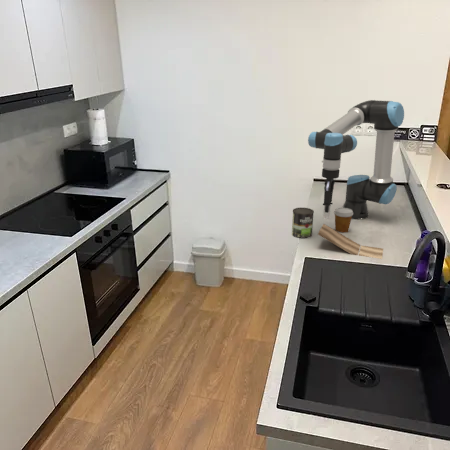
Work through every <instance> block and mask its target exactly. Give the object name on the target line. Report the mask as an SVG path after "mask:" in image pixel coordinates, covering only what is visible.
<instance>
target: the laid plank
mask: <svg viewBox="0 0 450 450" xmlns="http://www.w3.org/2000/svg"><path fill="white" fill-rule="evenodd" d="M383 254H384V248H381V247H375V246H367V245H361V244H360V249H359V252H358V256H359V257H366V258H371V259H381V260H382V259H383Z"/></svg>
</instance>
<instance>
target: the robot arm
mask: <svg viewBox="0 0 450 450" xmlns="http://www.w3.org/2000/svg"><path fill="white" fill-rule="evenodd" d="M404 119H405V109H404V106H403V105H402V103H401V102H399V101H392V100H375V99H374V100H373V99H369V100H366V101H363V102H360V103H359V104H358V103H357V104H356V105H354V106H353V107H351V108H349V109H348V111H347V113H346V114H344V115H342V116H341V117H339V118H338V119H337V120H335V121H334V122H332V123H331V124H330V125H328V126H327V127H325V128H324V129H323V130H320V131H312V132H310V133H309V135H308V139H307V143H308V145H309V147H311V148H314V149H319V150H323V156H322V157H323V159H322V160H321V163H322V169H321V177H322V178H324V179H325V181H324V187H323V188H324V190H323V191H324V198H323V203H322V206H324V207H323V214H322V215H323V217H322V218H323V219H326V220H330V217H331V207H332V205H333V202H332V201H333V193H334V187H335V186H334V185H335V184H336V183H335V182H336V181H335V180H334V179H338V178H339V177H340V168H341V163H342V162H341V161H342V159H341V158H342V154H346V153H350V152H352V151H354V150H356V149H357V145H358V140H357V138H356V137H355V136H354V135H353V134H346V133H347V132H349V131H350V130H351V129H353V128H355V127H356V126H357V127H359V126H360V125H362V124H372V125H373V129H374V130H375V132H376V135H375V137H376V138H375V151H374V163H373V175H372V176H371V177H370V175H367V174H354V175H350V176H348V178H347V182H346V191H345V201H344V203H343V206H342V207H341V208H348V209H351V210H352V211H353V215H352V218H355V219H354V220H356V219H357V220H362V219H361V218H364V219H366V217H367V218H368V217H369V209H368V204H367V201H369V202H372V203H378V204H382V205H388V204H390V203H392V201H393V200H394V198H395V196H396V193H397V189H398V188H397V184H395V183H394V178H393V177H392V176H391V175H392V162H393V152H394V140H395V133H396V131H397V130H399V127H400V126H401V125H402V124H403V123H404ZM352 218H351V219H352Z"/></svg>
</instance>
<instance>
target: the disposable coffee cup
mask: <svg viewBox="0 0 450 450" xmlns="http://www.w3.org/2000/svg"><path fill="white" fill-rule="evenodd" d="M333 213H334V226H335V227H334V228H335V229H334V230H335V231H337V232H339V233H349V229H350V226H351V221H352V215H353V211H352V210H351V209H348V208H342V207H337V208H335V210H334V212H333Z"/></svg>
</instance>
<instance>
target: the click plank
mask: <svg viewBox="0 0 450 450" xmlns="http://www.w3.org/2000/svg"><path fill="white" fill-rule="evenodd" d="M317 235H318V236H320V237H321V238H322V239H325V240H327V241H328V242H329V243H331V244H333V245H335V246H337V247H338V248H339V249H341V250H344V251H345V252H347V253H349V254H350V255H354V256H359V252H360V248H361V244H360V243H357V242H356V241H354V240H352V239H350V238H349V237H347V236H345V234H342V233H341V232H338V231H336V230H335V229H333V228H331V227H330V226H328V225H327V224H325V223H323V224H322V226H321V227H320V229H319V231H318V233H317Z"/></svg>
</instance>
